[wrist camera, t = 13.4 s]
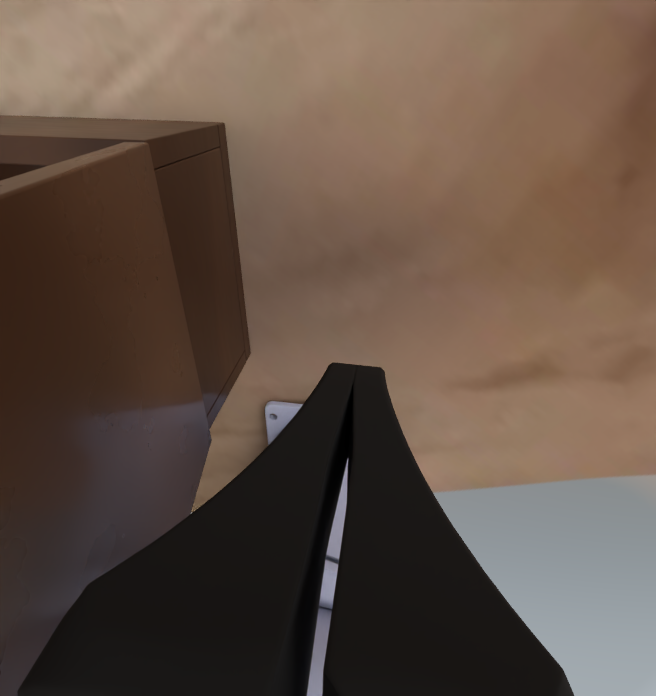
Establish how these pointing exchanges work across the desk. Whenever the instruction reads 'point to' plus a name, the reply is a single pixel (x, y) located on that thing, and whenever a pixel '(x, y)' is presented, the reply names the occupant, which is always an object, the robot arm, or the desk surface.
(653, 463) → the desk surface
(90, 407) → the chest lid
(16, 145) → the chest
